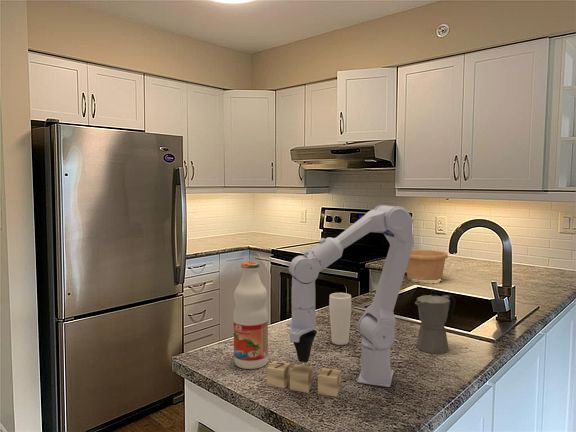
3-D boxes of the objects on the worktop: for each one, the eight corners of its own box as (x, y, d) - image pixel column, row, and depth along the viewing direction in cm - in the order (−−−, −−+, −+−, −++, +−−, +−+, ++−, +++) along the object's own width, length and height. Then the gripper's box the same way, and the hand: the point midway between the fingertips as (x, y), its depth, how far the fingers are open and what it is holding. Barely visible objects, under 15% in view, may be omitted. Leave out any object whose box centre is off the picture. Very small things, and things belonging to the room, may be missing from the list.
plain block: (295, 382, 109) (295, 364, 108) (313, 384, 107) (313, 367, 107) (289, 390, 104) (289, 372, 104) (307, 393, 103) (307, 374, 103)
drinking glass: (324, 342, 135) (324, 295, 134) (337, 337, 140) (337, 291, 139) (342, 348, 131) (342, 299, 130) (355, 342, 136) (355, 295, 134)
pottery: (445, 277, 230) (445, 250, 229) (448, 286, 209) (449, 257, 208) (403, 275, 236) (403, 249, 235) (401, 284, 215) (402, 255, 214)
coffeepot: (426, 357, 123) (427, 295, 122) (404, 346, 132) (405, 288, 131) (466, 349, 130) (467, 289, 129) (442, 338, 138) (444, 283, 137)
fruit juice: (275, 363, 120) (274, 262, 118) (248, 373, 114) (247, 267, 112) (253, 353, 127) (252, 258, 125) (227, 362, 121) (225, 262, 119)
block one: (322, 385, 107) (322, 367, 106) (340, 388, 105) (340, 370, 105) (317, 394, 102) (317, 375, 102) (336, 397, 101) (336, 377, 101)
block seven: (273, 378, 111) (273, 360, 111) (290, 380, 109) (290, 362, 109) (266, 385, 107) (266, 367, 106) (284, 388, 105) (283, 370, 105)
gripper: (297, 297, 113) (297, 348, 114) (277, 313, 99) (277, 370, 100) (323, 299, 110) (323, 351, 111) (306, 315, 97) (307, 375, 98)
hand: (303, 361), depth 105 cm, fingers closed
